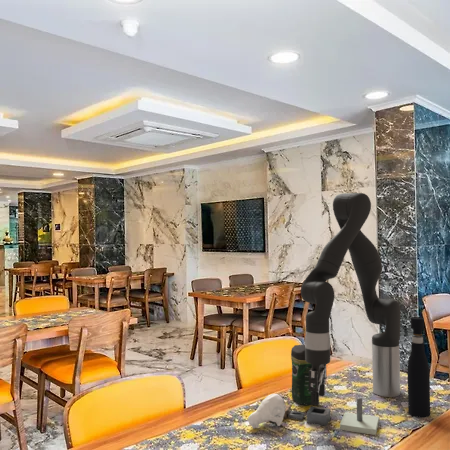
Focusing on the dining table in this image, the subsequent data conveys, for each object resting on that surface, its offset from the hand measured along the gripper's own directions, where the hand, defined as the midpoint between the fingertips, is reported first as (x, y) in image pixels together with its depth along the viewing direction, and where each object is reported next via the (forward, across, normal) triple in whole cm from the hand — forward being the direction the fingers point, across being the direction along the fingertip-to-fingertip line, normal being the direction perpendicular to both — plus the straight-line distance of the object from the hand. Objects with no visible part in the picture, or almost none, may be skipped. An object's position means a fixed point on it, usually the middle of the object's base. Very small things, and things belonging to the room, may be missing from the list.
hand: (318, 399), depth 141 cm
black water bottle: (+6, +17, -28) cm, 34 cm away
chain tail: (+6, 0, +9) cm, 11 cm away
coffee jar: (+6, +16, +8) cm, 19 cm away
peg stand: (+6, +1, -12) cm, 14 cm away
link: (+6, 0, 0) cm, 7 cm away
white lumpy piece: (+7, -8, +14) cm, 18 cm away
